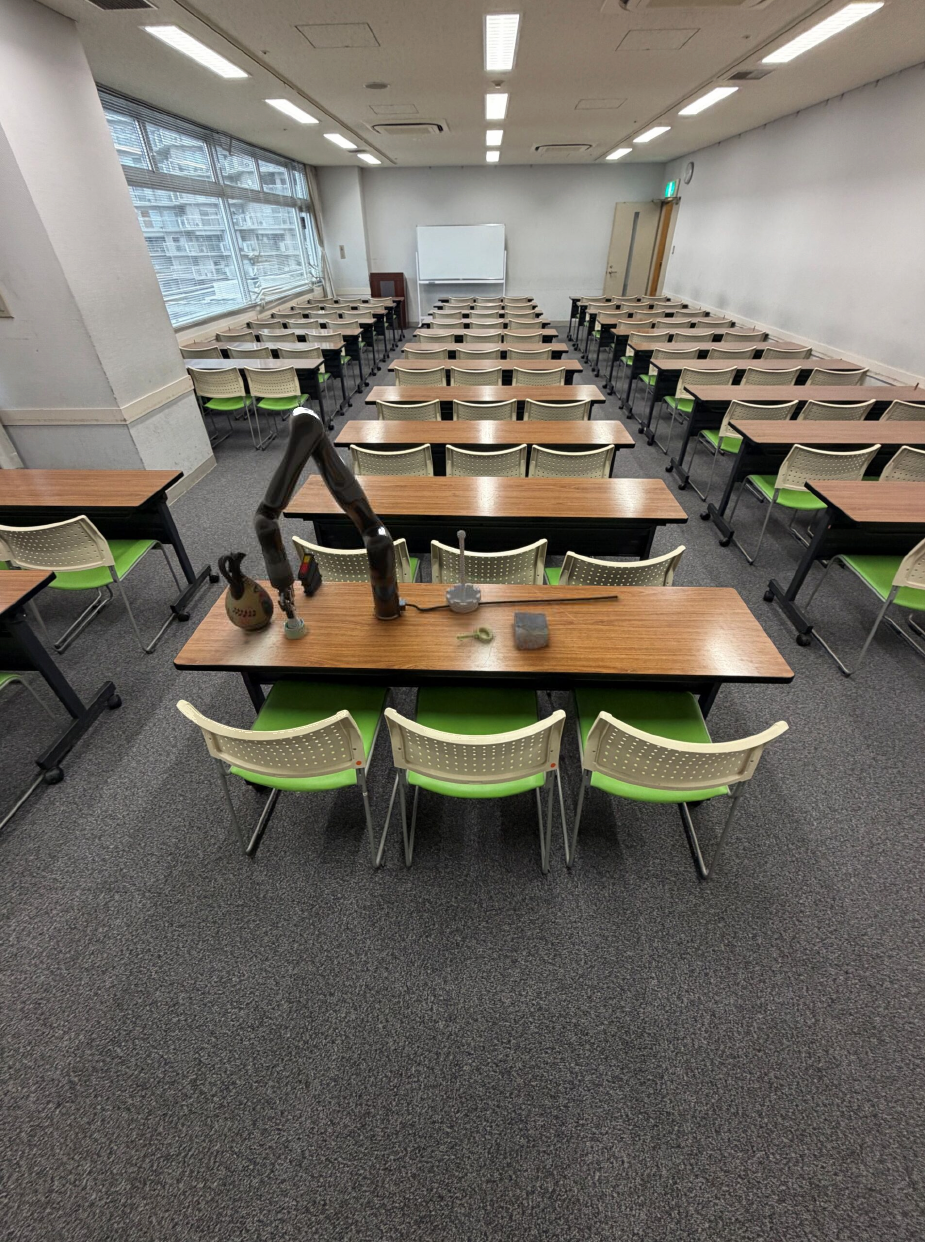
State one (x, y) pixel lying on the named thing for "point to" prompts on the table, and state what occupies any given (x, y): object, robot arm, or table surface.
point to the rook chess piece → (294, 620)
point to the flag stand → (463, 587)
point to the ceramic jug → (245, 597)
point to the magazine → (309, 574)
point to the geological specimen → (530, 630)
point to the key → (477, 635)
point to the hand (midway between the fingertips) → (292, 614)
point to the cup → (295, 630)
